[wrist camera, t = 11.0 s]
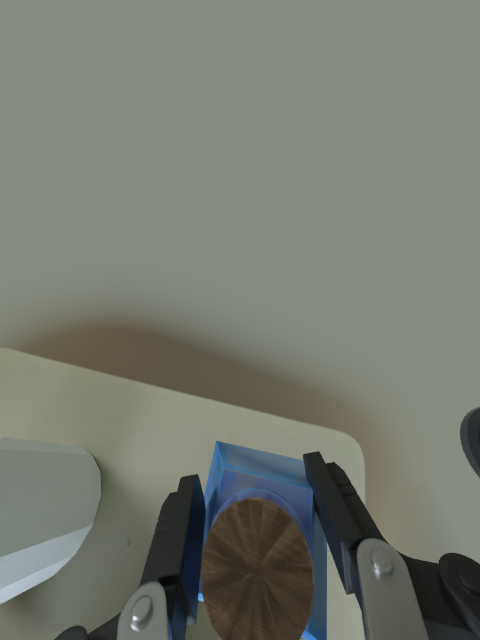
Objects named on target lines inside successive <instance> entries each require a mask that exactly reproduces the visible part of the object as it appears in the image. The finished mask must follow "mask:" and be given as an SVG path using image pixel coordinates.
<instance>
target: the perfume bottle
mask: <svg viewBox="0 0 480 640" xmlns="http://www.w3.org/2000/svg"><path fill="white" fill-rule="evenodd" d="M204 499H205V506H206V518H205V529H204V540H203V551H202V561H201V572H200V584H199V595H198V600H200V601H202V602H204V605H205V608H206V610H207V613H208V616H209V619H210V621H211V624H212V626H213V628H214V629H215V631H216V632H217V633H218V635H219V636H220V638H221V639H222V640H299V639H300V638H302V639H305V640H327V540H326V537H325V534H324V532H323V529H322V526H321V523H320V521H319V518H318V515H317V513H316V508H315V502H314V496H313V490H312V488H311V486H310V484H309V482H308V480H307V478H306V474H305V466H304V461H303V460H298V459H294V458H289V457H285V456H281V455H276V454H272V453H267V452H263V451H258V450H254V449H250V448H245V447H241V446H236V445H232V444H227V443H223V442H219V441H216V446H215V450H214V454H213V459H212V463H211V468H210V472H209V476H208V481H207V485H206V490H205V494H204Z"/></svg>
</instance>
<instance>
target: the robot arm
mask: <svg viewBox="0 0 480 640" xmlns="http://www.w3.org/2000/svg"><path fill="white" fill-rule="evenodd" d="M479 442H480V430H479ZM303 459H304V466H305V474H306V478H307V480H308V482H309V484H310V486H311V488H312V490H313V496H314V502H315V508H316V513H317V515H318V518H319V521H320V523H321V526H322V529H323V532H324V534H325V537H326V540H327V543H328V545H329V548H330V551H331V553H332V556H333V559H334V562H335V564H336V567H337V570H338V573H339V575H340V578H341V581H342V583H343V586H344V589H345V592H346V594H352V593H355V595H356V598H357V600H358V603H359V606H360V608H361V611H362V620H363V627H364V635H365V640H480V564H479V563H477V562H476V561H474V560H472V559H471V558H468V557H466V556H463V555H461V554H457V553H448V554H445V555H443V556H442V557H441V558H440V560H439V564H437V563H432V562H427V561H422V560H417V559H413V558H410V557H407V556H405V555H403V554H401V553H399V552H398V551H396V550H395V549H394V548H393V547H392V546H391V545H389V544H388V542H387V541H386V540H385V539H384V538H383V537H382V535H381V533H380V532H379V530H378V528H377V527H376V525H375V523H374V521H373V520H372V518H371V516H370V514H369V513H368V511H367V509H366V508H365V506H364V504H363V502H362V501H361V499H360V497H359V496H358V495H357V492H356V490H355V489H354V487H353V485H352V484H351V482H350V480H349V478H348V477H347V475H346V473H345V472H344V470H343V469H341V468H340V467H339V466H338V465H337V464H336V463H334V462H332V463H327V464H325V462H324V460H323V458H322V456H321V454H320V452H319V451H318V452H313V453H307V454H303ZM205 518H206V506H205V499H204V495H203V491H202V487H201V484H200V480H199V476H198V474H196V475H190V476H185V477H181V479H180V482H179V487H178V491H177V492H174V493H170V494H169V495H168V497H167V499H166V500H165V502H164V503H163V505H162V508H161V511H160V515H159V518H158V522H157V525H156V529H155V534H154V536H153V540H152V543H151V547H150V550H149V554H148V557H147V561H146V564H145V568H144V571H143V575H142V578H141V582H140V585H139V587H138V588H137V589H136V590H135V591H134V592H133V594H132V595H131V596H130V597H129V599H128V600H127V602H126V604H125V605H124V607H123V610H122V612H120V613H119V614H118V615H117V616H116V617H114V618H113V619H111V620H110V621H108V622H106V623H105V624H103V625H102V626H100V627H98V628H97V629H95V630H94V631H92V632H91V633H89V634H88V633H87V631H86V629H85V628H84V627H82V626H73V627H71V628H68V629H67V630H65V631H64V632H62V633H61V634H60V635H59V636H58V637H57V638H55V639H54V640H185V633H186V626H188V625H193V624H196V617H197V606H198V595H199V584H200V572H201V561H202V551H203V540H204V529H205Z"/></svg>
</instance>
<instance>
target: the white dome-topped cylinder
mask: <svg viewBox="0 0 480 640" xmlns="http://www.w3.org/2000/svg"><path fill="white" fill-rule="evenodd" d="M100 499H101V472H100V470H99V468H98V466H97V464H96V462H95V460H94V457H93V455H92V454H90V453H89V452H87V451H86V450H84V449H82V448H81V447H79V446H76V445H67V444H57V443H48V442H39V441H30V440H20V439H11V438H2V437H0V604H2V603H4V602H6V601H7V600H9V599H11V598H13V597H15V596H17V595H19V594H21V593H23V592H24V591H26V590H28V589H30V588H32V587H34V586H36V585H38V584H39V583H41V582H43V581H45V580H47V579H49V578H51V577H53V576H54V575H55V574H56V573H57V572H58V571H59V570H60V569H61V568H62V567H63V566H64V565H65V564H66V563H67V562H68V561H69V560H70V559H71V558H72V557H73V556H74V555H75V554H76V553H77V552H78V550H79V548H80V546H81V545H82V543H83V541H84V540H85V538H86V536H87V535H88V533H89V531H90V529H91V528H92V526H93V524H94V520H95V517H96V513H97V510H98V506H99V502H100Z"/></svg>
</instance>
